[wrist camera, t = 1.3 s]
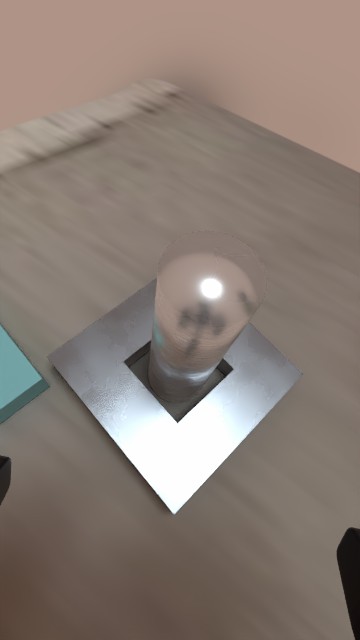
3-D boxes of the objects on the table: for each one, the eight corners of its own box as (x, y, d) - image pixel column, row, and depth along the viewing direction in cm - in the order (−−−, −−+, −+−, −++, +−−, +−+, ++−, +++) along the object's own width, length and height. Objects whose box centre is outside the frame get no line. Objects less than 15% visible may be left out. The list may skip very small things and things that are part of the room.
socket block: (170, 510, 20) (174, 514, 18) (54, 366, 23) (46, 356, 21) (291, 381, 24) (303, 373, 23) (180, 273, 27) (183, 259, 26)
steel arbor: (174, 414, 23) (214, 348, 11) (136, 371, 23) (134, 267, 12) (215, 376, 24) (289, 281, 12) (177, 337, 25) (212, 214, 13)
